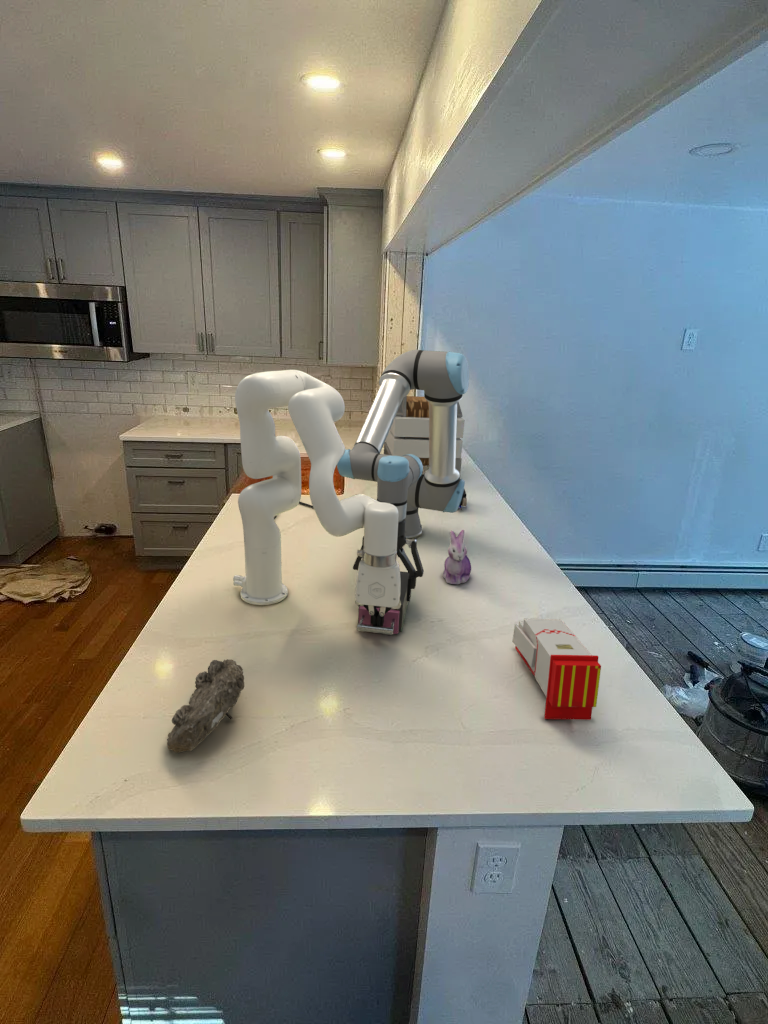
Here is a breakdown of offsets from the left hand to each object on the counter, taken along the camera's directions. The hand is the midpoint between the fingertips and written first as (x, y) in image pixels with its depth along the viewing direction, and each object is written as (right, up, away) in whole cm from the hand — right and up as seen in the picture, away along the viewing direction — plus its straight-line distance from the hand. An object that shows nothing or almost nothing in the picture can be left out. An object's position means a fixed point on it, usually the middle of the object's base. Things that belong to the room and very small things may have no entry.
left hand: (376, 627), depth 134 cm
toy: (+37, -9, -10) cm, 40 cm away
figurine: (+23, +8, +34) cm, 42 cm away
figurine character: (+31, +30, +96) cm, 106 cm away
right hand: (+2, +5, +15) cm, 16 cm away
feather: (-38, +26, +78) cm, 91 cm away
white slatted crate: (+19, +46, +141) cm, 149 cm away
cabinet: (+2, +2, +13) cm, 13 cm away
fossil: (-31, -12, -26) cm, 42 cm away
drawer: (+1, 0, +8) cm, 8 cm away
